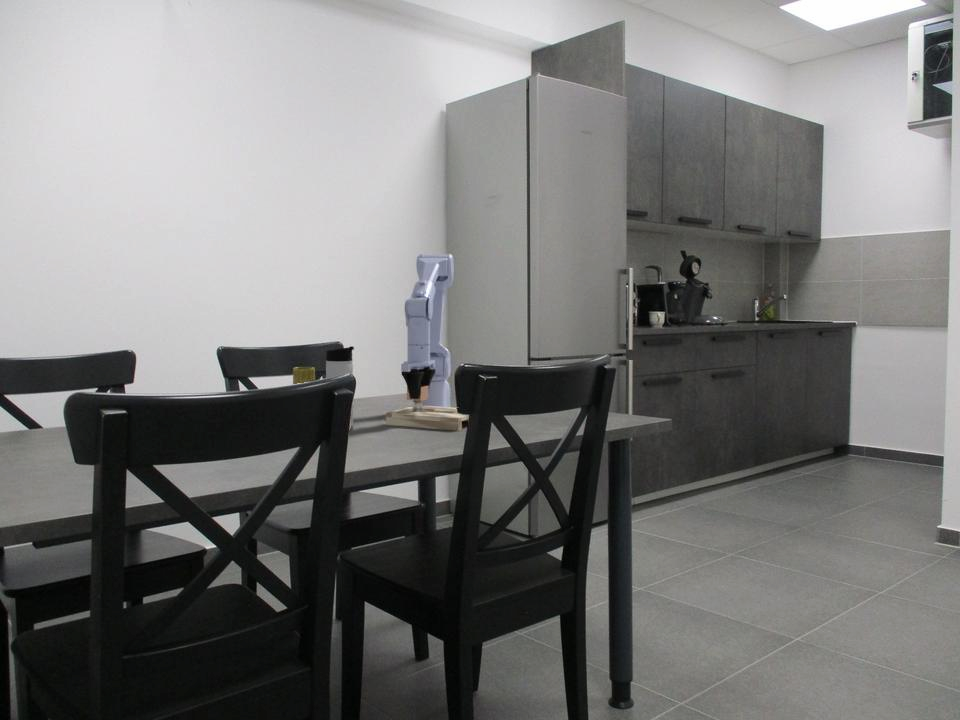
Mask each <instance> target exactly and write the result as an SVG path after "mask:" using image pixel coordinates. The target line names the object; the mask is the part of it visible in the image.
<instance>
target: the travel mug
mask: <svg viewBox="0 0 960 720" xmlns="http://www.w3.org/2000/svg"><path fill="white" fill-rule="evenodd" d="M354 350H355V347H354V346H349V347H343V348H342V347H341V348H340V347H339V348H334V349H329V350H328V349H327V350H326V352H325V356H326V359H325V379H326V378H328V377H333V376H338V375H341V374H345V373H351V374H354V373H353V372H354V371H353V370H354V368H353V367H354V364H353V361H354V360H353V351H354ZM353 429H354V404H353V405H352V413H351V428H350V431H352V430H353ZM350 431H349V432H350Z"/></svg>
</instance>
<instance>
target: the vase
mask: <svg viewBox="0 0 960 720" xmlns="http://www.w3.org/2000/svg"><path fill="white" fill-rule="evenodd" d="M315 369H316V368H315V367H313V366H297V367H296V366H295V367H292V385H293V384H297V383H304V382H308V381H312V380H315V381H316V372H315V371H316V370H315Z"/></svg>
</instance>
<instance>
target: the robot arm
mask: <svg viewBox="0 0 960 720" xmlns="http://www.w3.org/2000/svg"><path fill="white" fill-rule="evenodd" d="M415 266H416V273H417V276H418V281H417V282H416V283H415V284H414V287H413V289H412V293H411V295H410V297H409V298H408V299H405V301H404V317H405V327H406V328H407V331H406V332H407V333H406V335H407V336H406V337H407V339H406V340H407V346H406V347H407V360H405V361H403V363H401V365H400V368H401V370H400V371H401V376H402V377H403V379H404V382H405V384H406V388H407V387H408V391H409V395H410V399H419V394H420V385H427V386H428V399H427V400H422V405H423V406H437V407H451V386H450V383H449V382H448V381H447V380H448V379H449V378H450V376H451V372H452V371H451V370H452V363H451V362H452V359H451V357H452V356H451V353H450V351H449V349H447V348H446V347H445V346H443V345H442V343H443V342H442V341H443V340H442V339H443V330H444V329H443V326H444V311H445V297H446V292H447V289H449V288H450V287H453V282H454V274H455V270H454V269H455V259H454V256H453V255H452V254H451V253H449V254H422V253H419V254H418V256H417V257H416V264H415Z"/></svg>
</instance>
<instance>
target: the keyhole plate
mask: <svg viewBox="0 0 960 720" xmlns="http://www.w3.org/2000/svg"><path fill="white" fill-rule="evenodd" d="M456 408H457V407H452V406H450V407H437V406H423V405H422V412H413V405H411V406H408V407H404V408H401V409H396V410H392V411H391V410H390V411H387V412H386V413H385V426H394V427H395V426H396V427H407V428H409V427H410V428H422V429H433V430H444V431H445V430H447V431H454V432H455V431H461V430H463V429H462V427H463V424H462V422H468V421H467V420H468V417H469V416H468V415H462V414H458V413H457V409H456ZM423 412H424V413H423Z"/></svg>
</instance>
